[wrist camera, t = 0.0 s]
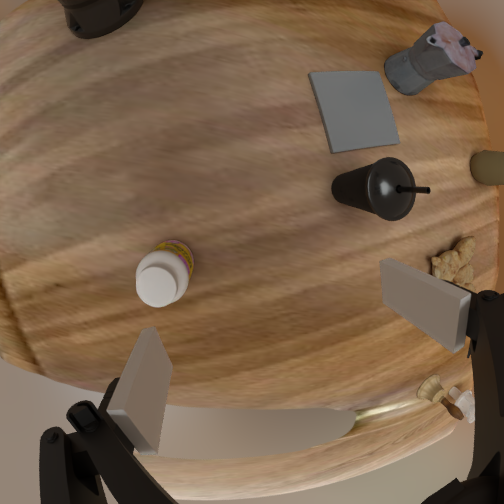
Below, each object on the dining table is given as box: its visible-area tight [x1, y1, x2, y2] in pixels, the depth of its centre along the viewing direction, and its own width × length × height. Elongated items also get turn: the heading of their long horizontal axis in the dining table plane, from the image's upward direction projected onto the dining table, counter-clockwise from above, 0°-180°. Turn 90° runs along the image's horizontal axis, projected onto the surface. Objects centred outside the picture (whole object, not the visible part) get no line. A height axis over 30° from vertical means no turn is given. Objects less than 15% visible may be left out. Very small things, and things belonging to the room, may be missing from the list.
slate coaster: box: [308, 71, 400, 153], centre depth 39 cm, size 14×14×1 cm
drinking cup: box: [332, 157, 430, 221], centre depth 33 cm, size 8×8×20 cm
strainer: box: [449, 386, 475, 423], centre depth 52 cm, size 7×7×15 cm
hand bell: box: [417, 374, 464, 420], centre depth 49 cm, size 8×8×16 cm
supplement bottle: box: [136, 240, 194, 307], centre depth 35 cm, size 7×7×13 cm
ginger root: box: [431, 236, 476, 292], centre depth 46 cm, size 16×16×8 cm
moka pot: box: [384, 22, 483, 95], centre depth 29 cm, size 10×15×20 cm, turn 109°
